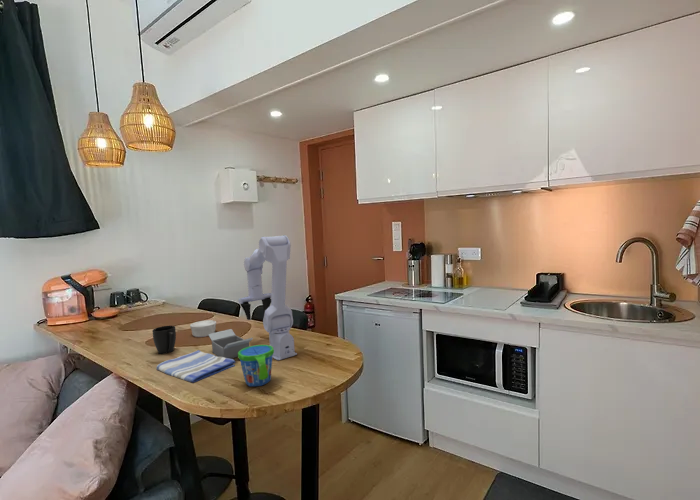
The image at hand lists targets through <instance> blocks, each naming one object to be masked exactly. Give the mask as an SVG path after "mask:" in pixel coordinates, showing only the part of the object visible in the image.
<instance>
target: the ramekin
mask: <svg viewBox="0 0 700 500" xmlns="http://www.w3.org/2000/svg"><path fill="white" fill-rule="evenodd" d="M216 325H217V321H216V320H212V319H211V320H210V319H209V320H208V319H206V320H199V321H196V322H193V323H190V324H189V327H190V329H191V334H192V336H193V337H195V338H205V337H209V336H208V334H211V333H216Z"/></svg>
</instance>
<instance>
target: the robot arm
mask: <svg viewBox="0 0 700 500" xmlns="http://www.w3.org/2000/svg"><path fill="white" fill-rule="evenodd" d="M291 246H292V245H291V241H290V238H289V237H288V236H287V235H286V234H284V235H276V236H275V235H274V236H261V237H260V238H259V241H258V248H255V249H254V251H253V252H252V254H251V255H250V256H245V257H244V260H243V266H244V270H245V271H246V277H247V278H246V279H247V280H246V281H247V290H248V291H247V292H248V296H245V297H239V298H238V299H237V300H238V301H237V302H238V304H240V306H241V308H242V310H243V312H244V313H245V316H246V320H248V321H251V320H252V318H251V317H252V316H251V302H255V301H256V302H257V301H261V303H262V309H263V310H262V311H263V319H262V325H263V328H264V331H266V332H267V333H268V336H269V337H268V340H269V345H270V346H272V347H273V349H274V353H273V355H272V359H273V360H276V361H280V360H281V361H282V360H284V359H288V358H290V357H294V356H296V355H298V353H297V352H295V339H294V337H293V335H292V334H290V331H291V328H292V327H293V325H294V318H293V310H292V309H291V308H290V306H288V305H286V288H287V287H286V286H287V265H288V264H287V263H288V261H289V260H290V258H291ZM265 262H268V263H271V292H270V293H269V292H268V293H264V292H263V281H262V278H263V277H262V275H263V268H264V263H265Z"/></svg>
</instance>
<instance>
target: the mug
mask: <svg viewBox="0 0 700 500" xmlns="http://www.w3.org/2000/svg"><path fill="white" fill-rule="evenodd" d="M152 338H153V343H154V345H155V348H156V352H157V353H158V354H161V355H165V354H170V353H172V352H174V350H175V345H176V341H177V330H176V326H175V325H163V326H159V327H155V328H153V329H152Z"/></svg>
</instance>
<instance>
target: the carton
mask: <svg viewBox="0 0 700 500" xmlns="http://www.w3.org/2000/svg"><path fill="white" fill-rule="evenodd" d="M241 340H245V339H244V338H243V337H240V336H238V335H236V336H233V337H229V338H225V339H220V340H216V341H211V348H212V349H211V350H212V354H213V355H215V356H216V357H224V358H229V359H235V358H238V352H239V351H240V350H241V349H244V348H246V347H250V346H251V345H250V342H249V343H246V344H242V345H238V346H234V347H230V348H226V349H224V347H225V346H226V345H227V344H229V343H233V342H237V341H241Z"/></svg>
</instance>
